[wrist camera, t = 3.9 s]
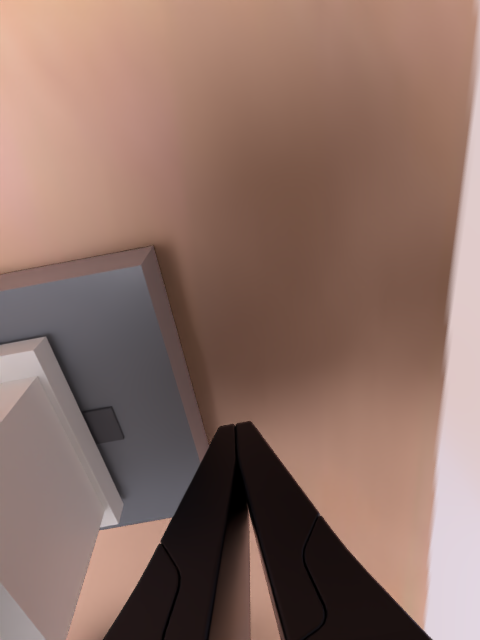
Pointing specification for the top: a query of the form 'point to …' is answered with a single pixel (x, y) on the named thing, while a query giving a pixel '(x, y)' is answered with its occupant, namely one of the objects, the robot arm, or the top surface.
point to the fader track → (117, 369)
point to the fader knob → (45, 494)
